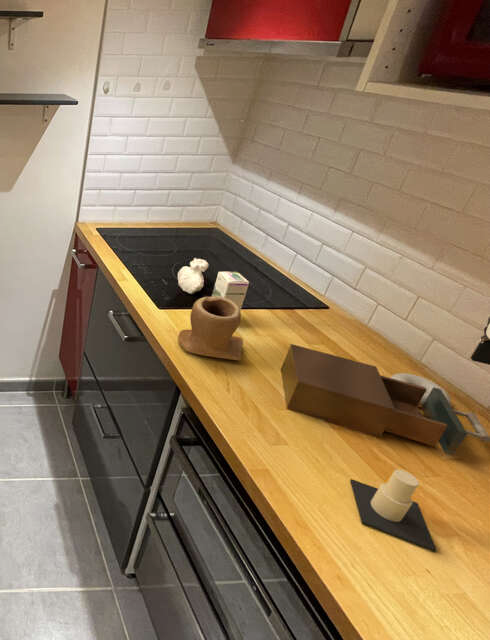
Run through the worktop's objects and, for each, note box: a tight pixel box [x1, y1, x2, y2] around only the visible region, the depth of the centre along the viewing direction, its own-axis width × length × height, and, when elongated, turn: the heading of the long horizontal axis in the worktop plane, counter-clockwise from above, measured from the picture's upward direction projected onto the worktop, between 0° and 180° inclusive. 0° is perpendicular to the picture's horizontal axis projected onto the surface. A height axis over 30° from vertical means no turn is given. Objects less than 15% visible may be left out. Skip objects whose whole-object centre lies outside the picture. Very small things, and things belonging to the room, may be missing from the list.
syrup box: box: [211, 271, 250, 311], centre depth 123 cm, size 6×6×14 cm
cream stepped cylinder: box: [371, 468, 420, 522], centre depth 73 cm, size 4×4×8 cm
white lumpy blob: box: [177, 257, 210, 295], centre depth 141 cm, size 12×8×11 cm
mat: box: [350, 478, 437, 553], centre depth 75 cm, size 9×9×1 cm
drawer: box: [380, 374, 490, 456], centre depth 91 cm, size 19×13×6 cm
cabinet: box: [280, 343, 395, 439], centre depth 97 cm, size 16×15×8 cm
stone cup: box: [178, 296, 244, 361], centre depth 110 cm, size 15×12×15 cm
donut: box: [390, 372, 452, 408], centre depth 99 cm, size 10×3×10 cm
